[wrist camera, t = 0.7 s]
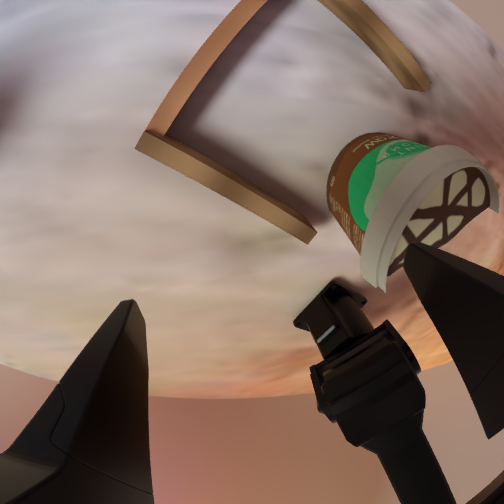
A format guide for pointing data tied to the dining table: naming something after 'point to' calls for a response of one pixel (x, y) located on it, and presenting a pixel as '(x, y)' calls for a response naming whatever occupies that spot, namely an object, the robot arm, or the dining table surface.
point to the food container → (404, 197)
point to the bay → (154, 138)
